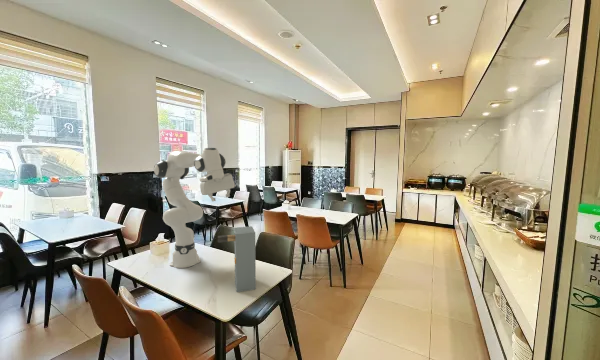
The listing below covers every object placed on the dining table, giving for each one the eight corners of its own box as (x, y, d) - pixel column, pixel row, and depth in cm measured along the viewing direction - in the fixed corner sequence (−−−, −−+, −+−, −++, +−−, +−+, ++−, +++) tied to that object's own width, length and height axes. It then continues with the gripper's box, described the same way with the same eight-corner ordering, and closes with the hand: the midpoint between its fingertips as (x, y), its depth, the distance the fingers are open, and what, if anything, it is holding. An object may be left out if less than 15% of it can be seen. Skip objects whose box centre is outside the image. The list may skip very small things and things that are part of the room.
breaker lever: (217, 240, 131) (217, 235, 131) (247, 238, 136) (247, 233, 136) (217, 242, 128) (217, 237, 128) (248, 239, 133) (248, 234, 133)
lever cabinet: (233, 280, 140) (233, 227, 138) (252, 278, 144) (251, 226, 141) (235, 292, 128) (234, 234, 126) (255, 289, 131) (255, 232, 129)
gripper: (228, 173, 149) (232, 195, 150) (196, 179, 133) (202, 203, 135) (234, 172, 145) (238, 194, 146) (202, 178, 129) (208, 203, 131)
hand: (221, 199), depth 140 cm, fingers open, 8 cm apart
